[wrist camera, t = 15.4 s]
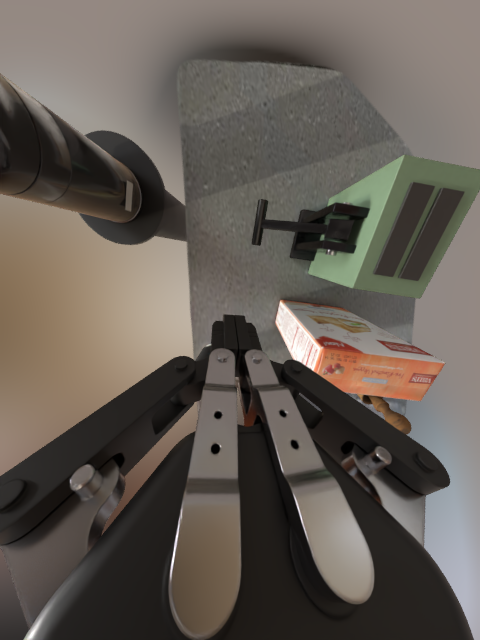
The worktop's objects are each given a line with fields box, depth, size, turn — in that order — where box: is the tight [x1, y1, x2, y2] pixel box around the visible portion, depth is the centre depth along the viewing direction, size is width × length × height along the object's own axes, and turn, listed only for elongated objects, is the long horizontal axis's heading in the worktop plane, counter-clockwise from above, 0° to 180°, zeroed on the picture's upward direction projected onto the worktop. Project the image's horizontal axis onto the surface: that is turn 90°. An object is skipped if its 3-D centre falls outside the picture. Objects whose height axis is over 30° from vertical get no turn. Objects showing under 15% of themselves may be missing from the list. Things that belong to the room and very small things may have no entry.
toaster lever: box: [252, 199, 354, 246], centre depth 24 cm, size 13×6×2 cm, turn 82°
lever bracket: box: [290, 202, 370, 261], centre depth 27 cm, size 5×8×13 cm, turn 172°
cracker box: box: [275, 300, 445, 401], centre depth 29 cm, size 14×6×21 cm, turn 82°
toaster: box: [308, 155, 480, 298], centre depth 26 cm, size 9×13×15 cm
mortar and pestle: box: [357, 394, 411, 434], centre depth 35 cm, size 7×6×18 cm
